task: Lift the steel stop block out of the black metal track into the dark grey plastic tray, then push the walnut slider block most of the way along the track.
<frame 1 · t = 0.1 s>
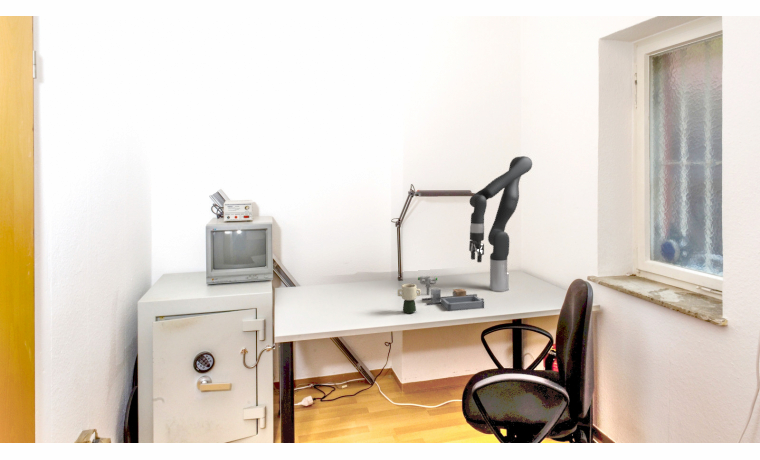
hand: (476, 260, 231), 17 cm above the table, tool pointing down, fingers open, 8 cm apart
slide rails: (452, 300, 217), on the table
character mug: (409, 312, 200), on the table
mechanical component: (428, 295, 228), on the table
slider: (459, 295, 217), point 3 cm above the table, slide at 0.0 cm
stop block: (435, 302, 215), on the table
tray: (462, 306, 206), on the table
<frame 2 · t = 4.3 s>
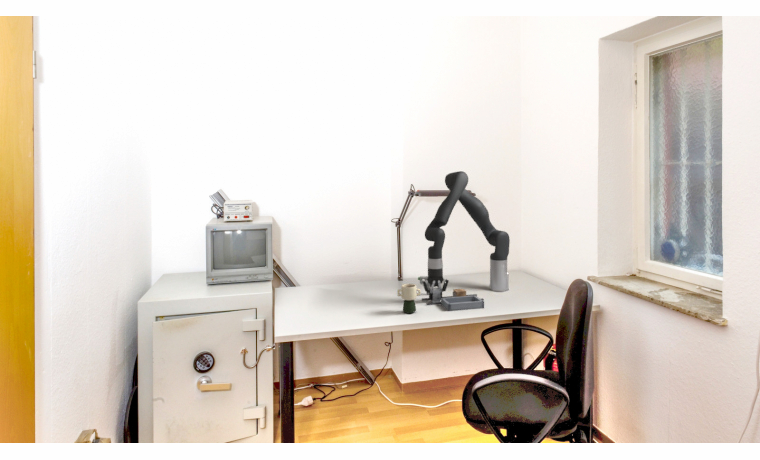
hand: (435, 299, 215), 1 cm above the table, tool pointing down, fingers closed on stop block, 4 cm apart
stop block: (435, 302, 215), on the table, touching gripper
everything else where it was.
when the fingers open (4 cm above the table, at t = 10.7 s): stop block drops 1 cm, resting on tray.
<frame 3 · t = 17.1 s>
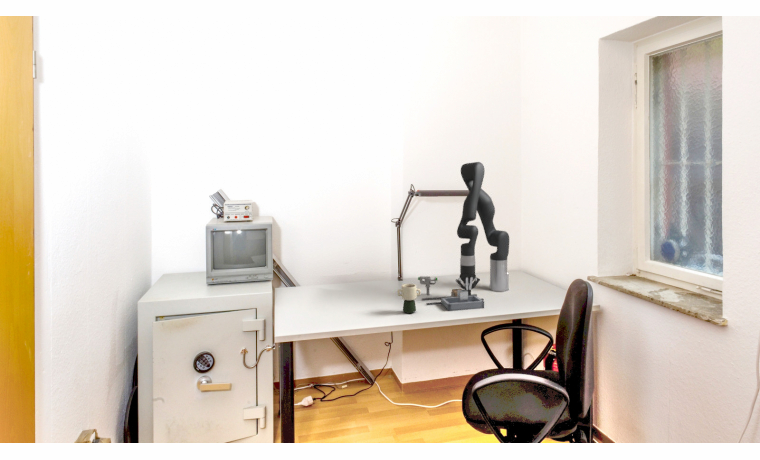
hand: (467, 296, 218), 2 cm above the table, tool pointing down, fingers closed
slider: (457, 295, 217), point 3 cm above the table, slide at 0.8 cm, touching gripper
stop block: (462, 304, 206), point 1 cm above the table, touching tray
everything else where it was.
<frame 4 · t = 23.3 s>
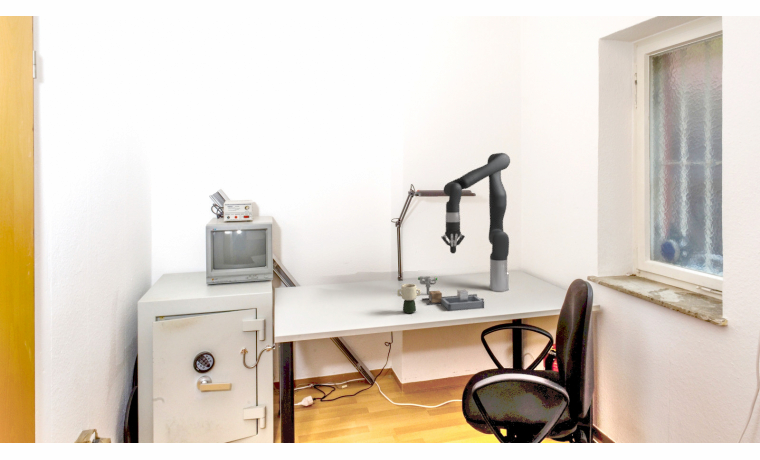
hand: (453, 253, 224), 23 cm above the table, tool pointing down, fingers closed
slider: (435, 296, 215), point 3 cm above the table, slide at 13.0 cm
everything else where it was.
at the end: stop block inside the target area on the tray (0.2 cm from its centre), point 1.0 cm above the tray's base; slider slide at 13.0 cm; the gripper is holding nothing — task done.
